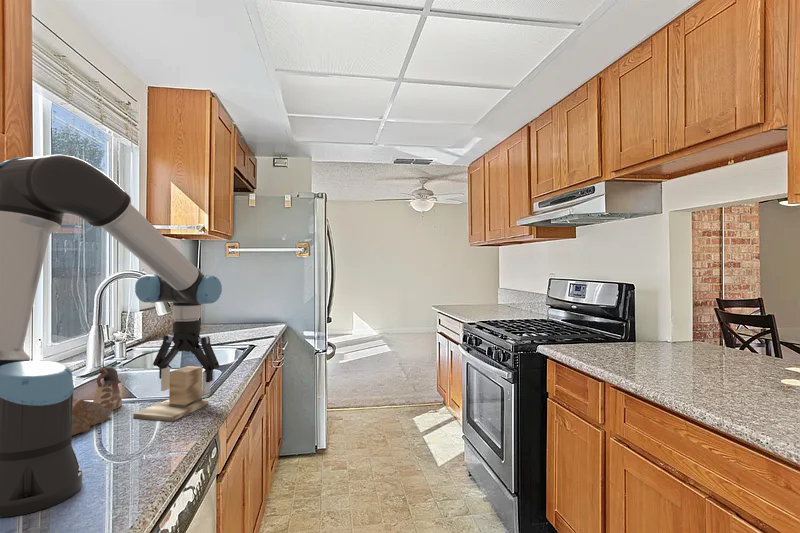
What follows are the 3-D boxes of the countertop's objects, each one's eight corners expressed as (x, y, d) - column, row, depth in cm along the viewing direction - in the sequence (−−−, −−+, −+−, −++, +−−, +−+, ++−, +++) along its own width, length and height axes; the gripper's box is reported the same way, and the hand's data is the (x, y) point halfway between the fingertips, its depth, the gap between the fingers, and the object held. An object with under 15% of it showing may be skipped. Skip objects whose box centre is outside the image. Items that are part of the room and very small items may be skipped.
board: (172, 421, 122) (172, 416, 122) (133, 417, 125) (133, 413, 125) (208, 404, 138) (208, 400, 138) (173, 401, 140) (173, 397, 140)
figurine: (126, 406, 135) (127, 365, 135) (100, 412, 129) (100, 370, 129) (114, 402, 139) (115, 362, 139) (88, 407, 133) (89, 366, 133)
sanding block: (184, 407, 130) (185, 372, 130) (169, 406, 131) (169, 371, 131) (201, 399, 138) (202, 367, 138) (187, 398, 139) (187, 366, 139)
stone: (73, 433, 108) (70, 392, 111) (34, 446, 107) (32, 404, 111) (118, 433, 124) (114, 398, 128) (84, 445, 123) (81, 409, 127)
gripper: (232, 319, 136) (231, 390, 136) (158, 316, 141) (157, 385, 141) (217, 322, 129) (216, 397, 128) (140, 319, 133) (139, 391, 133)
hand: (185, 391), depth 134 cm, fingers open, 13 cm apart
